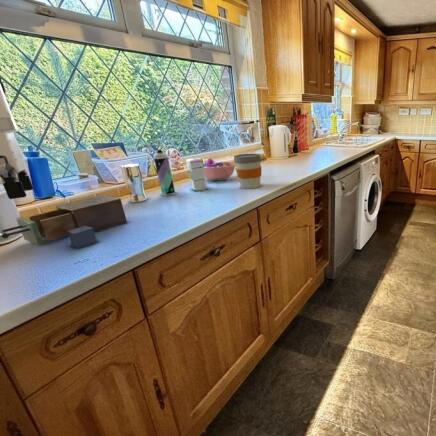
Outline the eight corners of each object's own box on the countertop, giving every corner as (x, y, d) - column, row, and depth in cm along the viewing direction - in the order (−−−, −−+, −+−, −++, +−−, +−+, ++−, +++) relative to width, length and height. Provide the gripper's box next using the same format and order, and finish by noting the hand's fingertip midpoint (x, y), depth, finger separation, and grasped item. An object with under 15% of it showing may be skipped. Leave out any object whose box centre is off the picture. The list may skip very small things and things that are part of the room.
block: (79, 248, 84) (74, 233, 83) (71, 245, 86) (66, 231, 85) (97, 242, 88) (92, 228, 86) (89, 239, 90) (85, 225, 88)
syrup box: (207, 188, 145) (202, 158, 140) (195, 191, 141) (189, 160, 136) (203, 187, 149) (197, 157, 144) (191, 189, 145) (185, 159, 140)
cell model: (226, 184, 153) (223, 161, 149) (192, 183, 157) (188, 161, 154) (243, 177, 168) (240, 156, 164) (211, 176, 173) (208, 156, 169)
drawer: (11, 254, 80) (1, 230, 77) (-2, 247, 84) (-13, 224, 82) (89, 230, 94) (83, 210, 92) (74, 225, 99) (67, 205, 97)
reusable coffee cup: (255, 190, 139) (251, 157, 134) (232, 189, 143) (227, 157, 138) (268, 184, 151) (265, 153, 145) (246, 182, 154) (243, 153, 149)
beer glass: (125, 202, 127) (115, 166, 122) (138, 197, 134) (130, 163, 129) (139, 202, 126) (129, 167, 121) (151, 198, 132) (143, 164, 127)
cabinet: (81, 236, 92) (72, 210, 89) (64, 230, 98) (55, 205, 95) (127, 222, 103) (120, 198, 100) (109, 217, 109) (102, 194, 106)
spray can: (160, 194, 138) (150, 149, 131) (173, 191, 142) (163, 148, 135) (164, 196, 134) (154, 150, 128) (177, 193, 138) (167, 149, 131)
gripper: (-16, 126, 78) (10, 190, 84) (-41, 128, 65) (-7, 204, 71) (23, 124, 82) (45, 185, 88) (7, 126, 69) (35, 198, 75)
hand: (22, 194), depth 80 cm, fingers open, 9 cm apart
